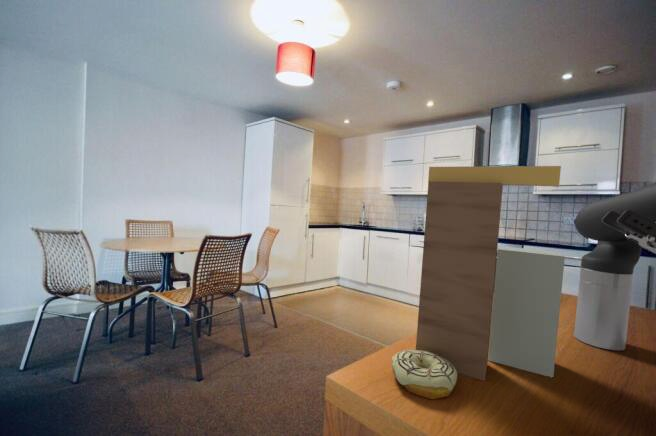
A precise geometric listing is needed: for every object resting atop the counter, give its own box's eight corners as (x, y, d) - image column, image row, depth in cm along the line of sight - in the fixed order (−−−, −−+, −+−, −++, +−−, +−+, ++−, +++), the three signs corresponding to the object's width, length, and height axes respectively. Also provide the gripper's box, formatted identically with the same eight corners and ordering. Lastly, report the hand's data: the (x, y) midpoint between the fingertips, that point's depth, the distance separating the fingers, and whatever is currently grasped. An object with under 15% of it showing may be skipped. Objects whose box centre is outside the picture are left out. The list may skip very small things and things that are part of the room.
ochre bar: (431, 183, 63) (432, 168, 63) (556, 186, 53) (558, 168, 53) (428, 182, 61) (429, 166, 60) (559, 184, 50) (560, 166, 50)
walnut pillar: (423, 347, 66) (436, 184, 65) (487, 364, 60) (502, 186, 59) (414, 360, 60) (428, 181, 59) (484, 381, 54) (501, 182, 53)
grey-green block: (490, 345, 69) (498, 245, 68) (548, 360, 64) (558, 252, 63) (488, 360, 62) (497, 249, 61) (553, 377, 57) (564, 256, 56)
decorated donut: (392, 397, 48) (394, 372, 48) (389, 362, 59) (390, 343, 59) (464, 406, 47) (466, 382, 47) (447, 370, 57) (448, 349, 57)
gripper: (736, 255, 47) (617, 197, 53) (818, 270, 34) (649, 191, 41) (695, 294, 49) (585, 233, 55) (758, 320, 36) (607, 238, 43)
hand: (612, 215), depth 48 cm, fingers open, 8 cm apart
